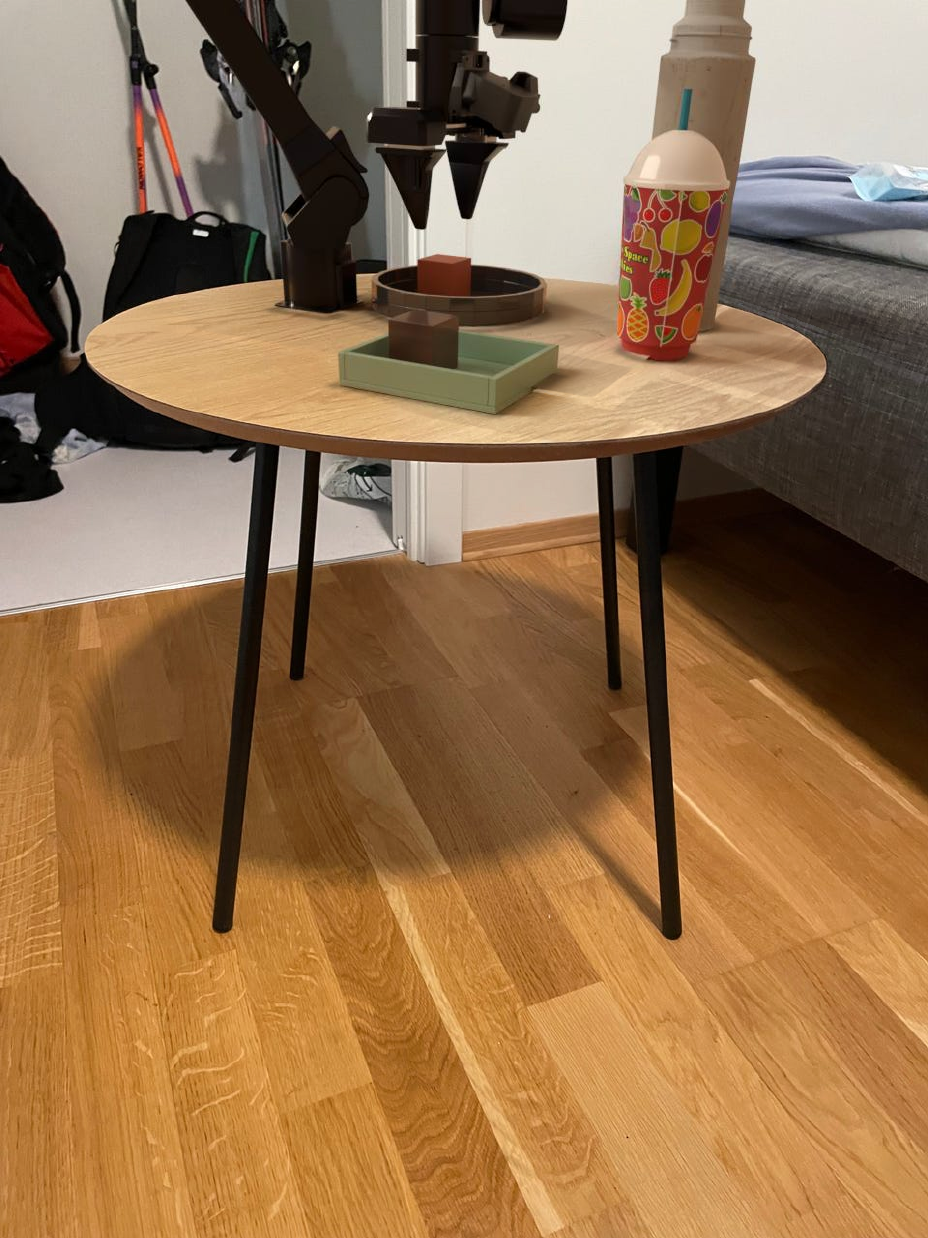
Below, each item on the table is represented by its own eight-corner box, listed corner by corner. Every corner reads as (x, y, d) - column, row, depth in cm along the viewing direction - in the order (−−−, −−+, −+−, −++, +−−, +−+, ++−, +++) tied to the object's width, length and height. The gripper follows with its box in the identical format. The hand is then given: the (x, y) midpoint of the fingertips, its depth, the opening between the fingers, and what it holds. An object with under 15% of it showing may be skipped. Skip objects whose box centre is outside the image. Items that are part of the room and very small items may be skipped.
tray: (339, 385, 71) (337, 351, 69) (413, 352, 79) (413, 322, 78) (495, 414, 66) (496, 379, 64) (557, 376, 74) (559, 344, 73)
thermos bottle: (704, 314, 95) (754, -19, 80) (722, 333, 88) (780, -27, 74) (626, 312, 95) (662, -21, 80) (637, 331, 88) (679, -30, 74)
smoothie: (597, 340, 84) (622, 86, 74) (687, 340, 85) (723, 89, 75) (618, 365, 77) (648, 88, 67) (716, 365, 78) (760, 91, 68)
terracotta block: (417, 300, 95) (417, 259, 93) (436, 294, 98) (436, 253, 96) (452, 305, 93) (452, 263, 91) (470, 298, 96) (471, 257, 94)
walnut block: (388, 371, 72) (387, 318, 70) (414, 359, 75) (414, 308, 73) (433, 379, 71) (433, 325, 69) (458, 367, 74) (459, 315, 72)
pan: (338, 315, 90) (337, 283, 89) (426, 286, 104) (426, 258, 102) (498, 340, 84) (499, 305, 82) (570, 305, 97) (572, 275, 95)
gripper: (478, 32, 73) (472, 244, 81) (570, 42, 88) (557, 221, 96) (360, 31, 78) (365, 231, 86) (466, 40, 92) (462, 211, 100)
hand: (444, 223), depth 92 cm, fingers open, 9 cm apart
